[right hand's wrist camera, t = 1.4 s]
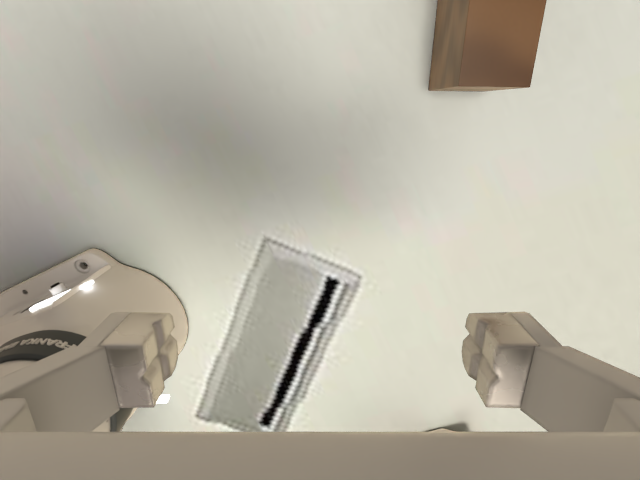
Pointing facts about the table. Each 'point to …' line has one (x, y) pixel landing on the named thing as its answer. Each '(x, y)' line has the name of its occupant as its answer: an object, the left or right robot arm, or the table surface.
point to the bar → (485, 44)
